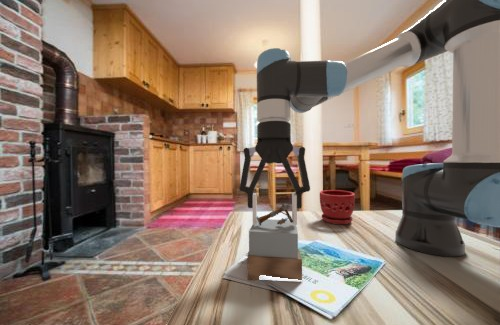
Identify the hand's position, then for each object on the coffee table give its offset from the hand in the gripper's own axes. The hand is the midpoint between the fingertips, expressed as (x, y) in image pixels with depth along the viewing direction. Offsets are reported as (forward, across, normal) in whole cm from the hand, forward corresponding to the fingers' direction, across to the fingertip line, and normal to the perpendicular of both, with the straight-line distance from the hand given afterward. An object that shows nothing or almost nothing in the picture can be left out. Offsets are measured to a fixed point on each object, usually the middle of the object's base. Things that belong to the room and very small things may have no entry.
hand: (274, 222), depth 48 cm
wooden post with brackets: (+1, 0, 0) cm, 1 cm away
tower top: (+6, 0, 0) cm, 6 cm away
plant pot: (+11, -26, -40) cm, 48 cm away
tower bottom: (+11, 0, 0) cm, 11 cm away
